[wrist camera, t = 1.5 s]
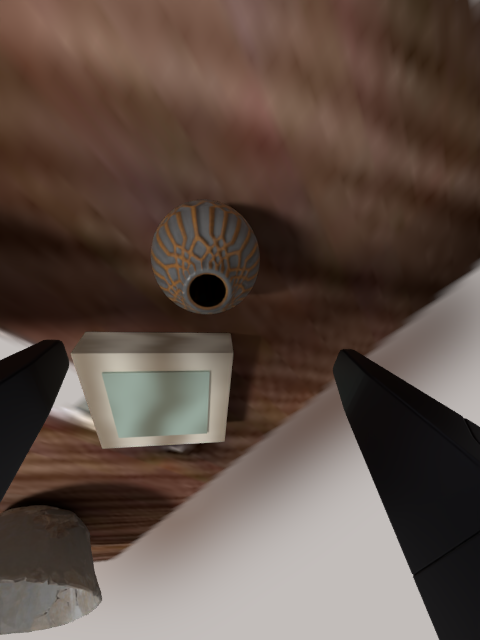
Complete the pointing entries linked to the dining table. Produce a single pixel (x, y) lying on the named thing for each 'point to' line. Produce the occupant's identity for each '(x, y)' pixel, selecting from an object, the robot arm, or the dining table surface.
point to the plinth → (155, 386)
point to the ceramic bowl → (44, 569)
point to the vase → (205, 256)
